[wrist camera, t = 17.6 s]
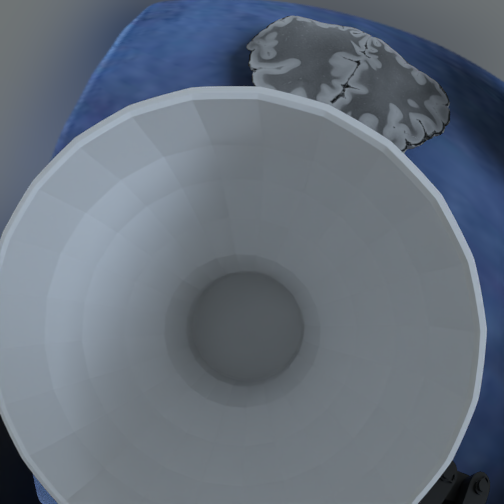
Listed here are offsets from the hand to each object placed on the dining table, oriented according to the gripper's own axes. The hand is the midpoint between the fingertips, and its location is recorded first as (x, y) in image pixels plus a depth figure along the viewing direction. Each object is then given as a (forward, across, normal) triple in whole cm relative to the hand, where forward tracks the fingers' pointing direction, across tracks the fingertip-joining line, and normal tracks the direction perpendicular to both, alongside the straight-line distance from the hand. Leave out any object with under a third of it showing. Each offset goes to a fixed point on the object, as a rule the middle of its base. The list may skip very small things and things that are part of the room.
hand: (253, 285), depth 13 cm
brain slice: (+20, +2, +8) cm, 21 cm away
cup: (+3, 0, -6) cm, 7 cm away
